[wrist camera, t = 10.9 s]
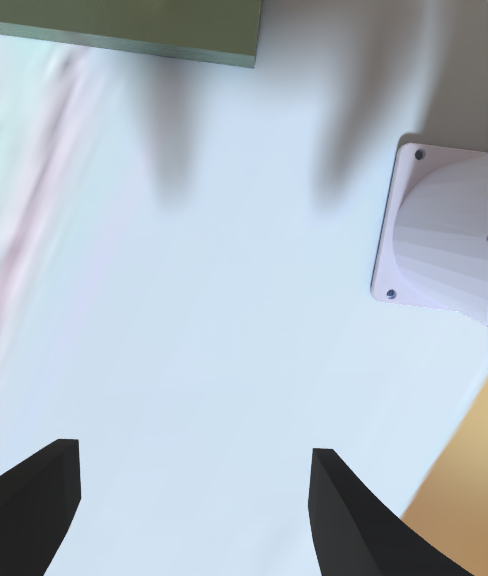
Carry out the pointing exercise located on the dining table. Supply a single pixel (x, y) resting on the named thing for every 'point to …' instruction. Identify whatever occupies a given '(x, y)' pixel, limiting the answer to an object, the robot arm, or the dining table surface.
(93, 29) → the green slab
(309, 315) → the dining table surface
